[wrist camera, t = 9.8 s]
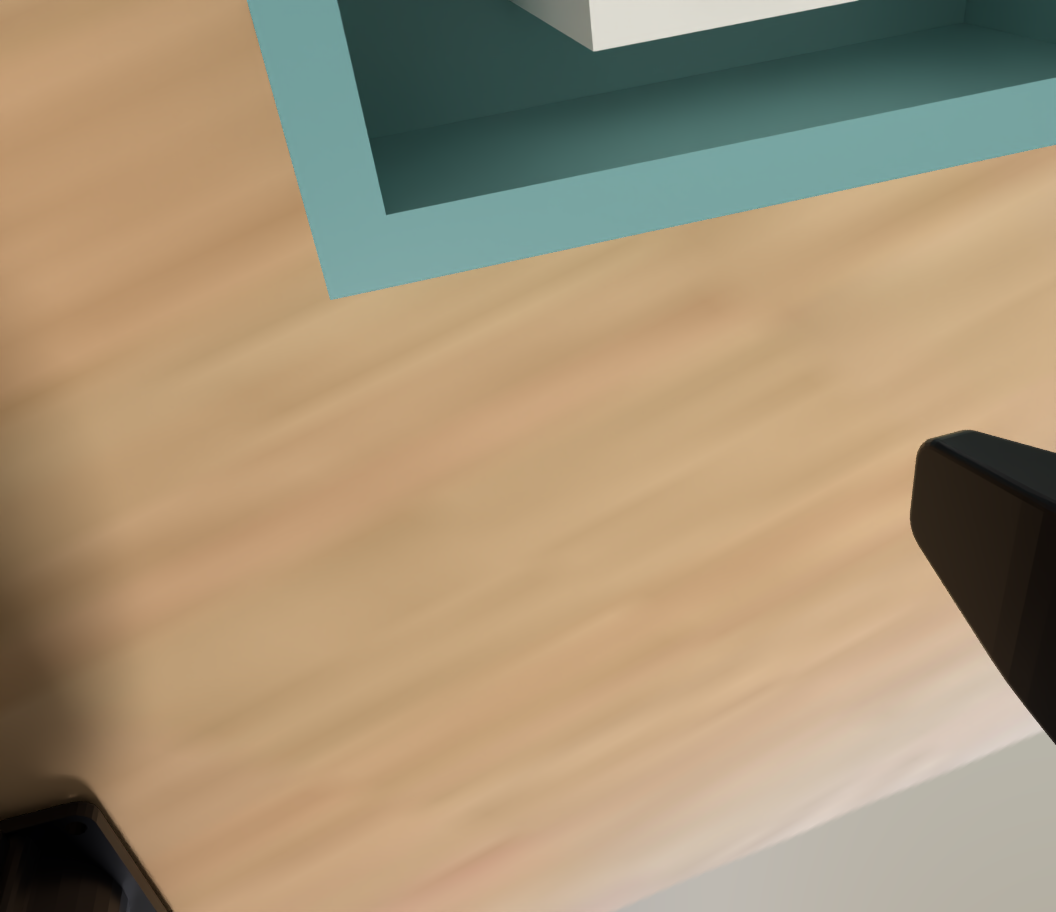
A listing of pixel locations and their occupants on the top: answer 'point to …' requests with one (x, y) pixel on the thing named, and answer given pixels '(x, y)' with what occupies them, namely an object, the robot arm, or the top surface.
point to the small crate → (654, 17)
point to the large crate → (624, 119)
